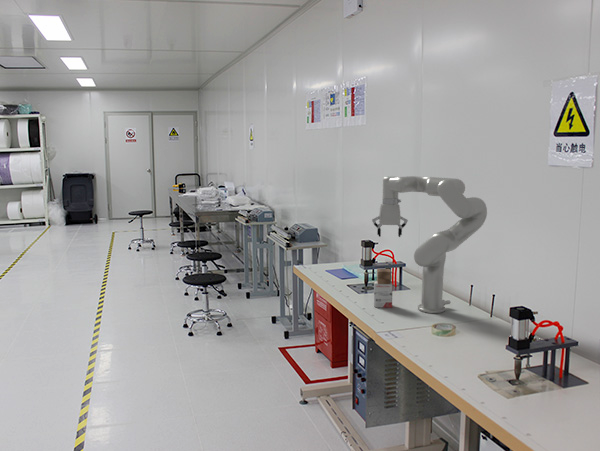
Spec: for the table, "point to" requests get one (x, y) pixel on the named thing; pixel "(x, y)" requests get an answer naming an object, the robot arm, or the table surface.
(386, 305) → the ink box
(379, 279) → the walnut block
